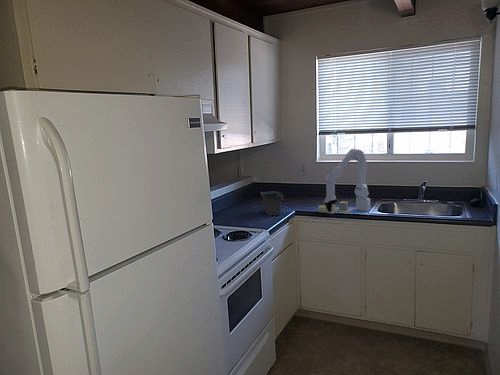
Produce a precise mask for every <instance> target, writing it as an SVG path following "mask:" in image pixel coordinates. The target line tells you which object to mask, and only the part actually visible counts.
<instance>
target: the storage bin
mask: <svg viewBox="0 0 500 375" xmlns="http://www.w3.org/2000/svg"><path fill="white" fill-rule="evenodd" d="M260 196H261V197H262V203H263V204H262V205H263V211H264V212H265V213H266V214H267V216H270V217H271V216H272V215H273V216H280V215H281V205H282V201H284V200H285V197H284V195H283V194H282V193H281V192H279V191H275V190H273V191H261V192H260ZM273 216H272V217H273Z"/></svg>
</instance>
